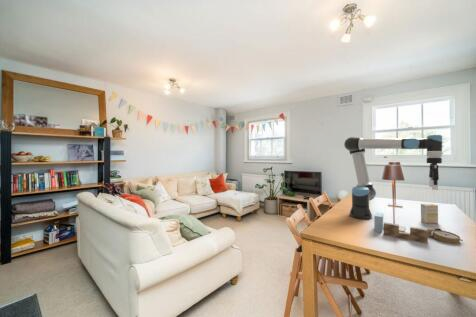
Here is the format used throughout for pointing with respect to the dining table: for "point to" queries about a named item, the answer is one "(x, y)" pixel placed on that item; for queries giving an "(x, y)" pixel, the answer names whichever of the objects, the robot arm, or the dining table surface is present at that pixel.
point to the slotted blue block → (378, 222)
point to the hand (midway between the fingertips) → (433, 188)
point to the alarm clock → (444, 236)
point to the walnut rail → (414, 234)
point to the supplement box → (429, 213)
